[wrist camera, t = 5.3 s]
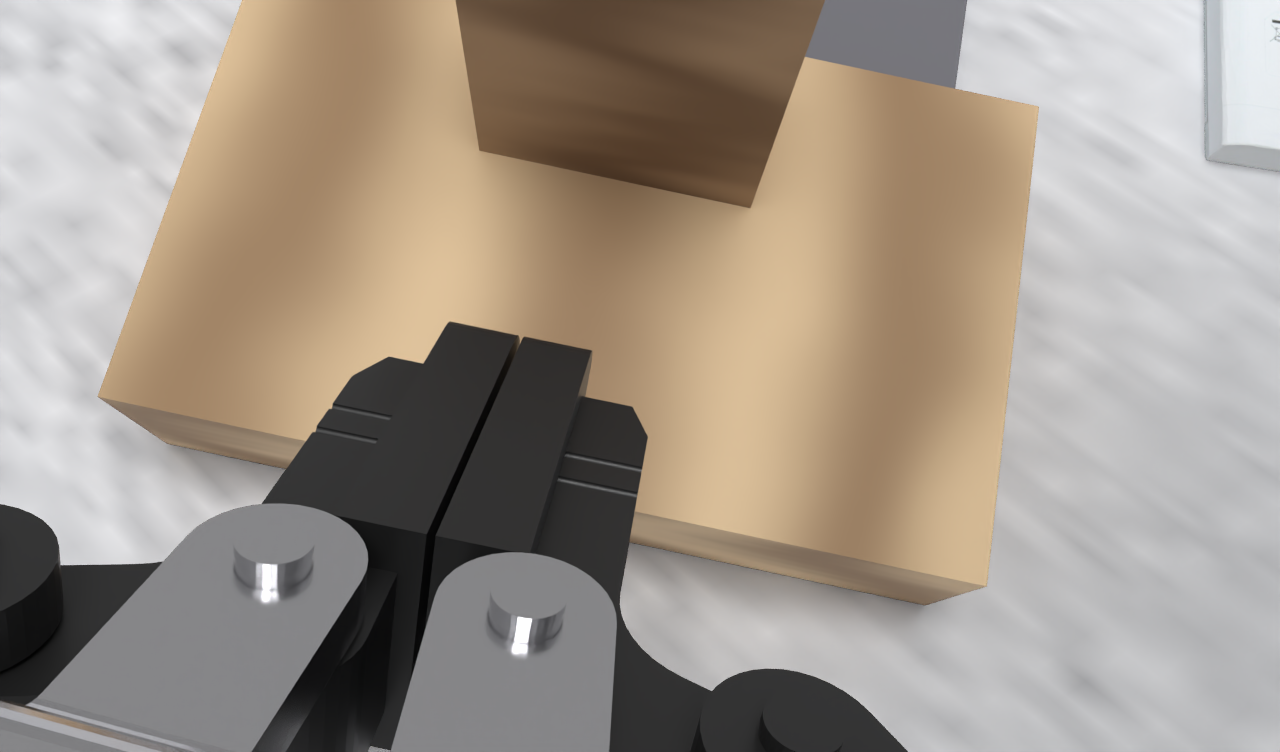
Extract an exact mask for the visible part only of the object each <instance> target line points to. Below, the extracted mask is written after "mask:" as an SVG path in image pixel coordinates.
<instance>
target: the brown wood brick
mask: <svg viewBox="0 0 1280 752" xmlns="http://www.w3.org/2000/svg"><path fill="white" fill-rule="evenodd" d="M824 2H825V0H456V7H457V13H458V19H459V26H460V32H461V38H462V45H463V51H464V57H465V63H466V70H467V76H468V82H469V89H470V95H471V101H472V108H473V114H474V120H475V126H476V133H477V139H478V145H479V151H483V152H488V153H493V154H497V155H502V156H507V157H511V158H516V159H521V160H525V161H530V162H535V163H540V164H544V165H549V166H554V167H558V168H563V169H568V170H572V171H577V172H582V173H586V174H591V175H596V176H601V177H605V178H610V179H615V180H619V181H624V182H629V183H633V184H638V185H643V186H648V187H652V188H657V189H662V190H666V191H671V192H676V193H680V194H685V195H690V196H694V197H699V198H704V199H709V200H713V201H718V202H723V203H727V204H732V205H737V206H741V207H746V208H751V205H752V203H753V200H754V197H755V194H756V191H757V189H758V186H759V183H760V180H761V178H762V175H763V172H764V169H765V166H766V164H767V161H768V158H769V155H770V152H771V150H772V147H773V144H774V141H775V138H776V136H777V133H778V130H779V127H780V125H781V122H782V119H783V116H784V113H785V111H786V108H787V105H788V102H789V99H790V97H791V94H792V91H793V88H794V86H795V83H796V80H797V77H798V74H799V72H800V69H801V66H802V63H803V60H804V58H805V55H806V52H807V49H808V47H809V44H810V41H811V38H812V35H813V33H814V30H815V27H816V24H817V21H818V19H819V16H820V13H821V10H822V8H823V5H824Z"/></svg>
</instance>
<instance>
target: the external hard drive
mask: <svg viewBox="0 0 1280 752" xmlns="http://www.w3.org/2000/svg"><path fill="white" fill-rule="evenodd" d="M1204 55H1205V58H1204V68H1205V158H1206V160H1208V161H1215V162H1222V163H1228V164H1235V165H1241V166H1247V167H1253V168H1260V169H1266V170H1272V171H1278V172H1280V0H1204Z"/></svg>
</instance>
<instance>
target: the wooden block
mask: <svg viewBox="0 0 1280 752" xmlns="http://www.w3.org/2000/svg"><path fill="white" fill-rule="evenodd" d="M1038 111H1039V107H1038V106H1034V105H1029V104H1024V103H1019V102H1015V101H1010V100H1005V99H1001V98H996V97H991V96H987V95H982V94H977V93H972V92H968V91H963V90H958V89H954V88H949V87H944V86H940V85H935V84H930V83H925V82H921V81H916V80H911V79H907V78H902V77H897V76H893V75H888V74H883V73H878V72H874V71H869V70H864V69H860V68H855V67H850V66H846V65H841V64H836V63H832V62H827V61H822V60H817V59H813V58H808V57H805V58H804V60H803V63H802V66H801V69H800V72H799V74H798V77H797V80H796V83H795V86H794V88H793V91H792V94H791V97H790V99H789V102H788V105H787V108H786V111H785V113H784V116H783V119H782V122H781V125H780V127H779V130H778V133H777V136H776V138H775V141H774V144H773V147H772V150H771V152H770V155H769V158H768V161H767V164H766V166H765V169H764V172H763V175H762V178H761V180H760V183H759V186H758V189H757V191H756V194H755V197H754V200H753V203H752V205H751V208H746V207H741V206H737V205H732V204H727V203H723V202H718V201H713V200H709V199H704V198H699V197H694V196H690V195H685V194H680V193H676V192H671V191H666V190H662V189H657V188H652V187H648V186H643V185H638V184H633V183H629V182H624V181H619V180H615V179H610V178H605V177H601V176H596V175H591V174H586V173H582V172H577V171H572V170H568V169H563V168H558V167H554V166H549V165H544V164H540V163H535V162H530V161H525V160H521V159H516V158H511V157H507V156H502V155H497V154H493V153H488V152H483V151H479V145H478V139H477V133H476V126H475V120H474V114H473V108H472V101H471V95H470V89H469V82H468V76H467V70H466V63H465V57H464V51H463V45H462V38H461V32H460V26H459V19H458V13H457V7H456V0H242V2H241V5H240V8H239V10H238V13H237V16H236V19H235V21H234V24H233V27H232V30H231V32H230V35H229V38H228V41H227V43H226V46H225V49H224V52H223V54H222V57H221V60H220V63H219V65H218V68H217V71H216V74H215V76H214V79H213V82H212V84H211V87H210V90H209V93H208V95H207V98H206V101H205V104H204V106H203V109H202V112H201V115H200V117H199V120H198V123H197V126H196V128H195V131H194V134H193V137H192V139H191V142H190V145H189V148H188V150H187V153H186V156H185V158H184V161H183V164H182V167H181V169H180V172H179V175H178V178H177V180H176V183H175V186H174V189H173V191H172V194H171V197H170V200H169V202H168V205H167V208H166V211H165V213H164V216H163V219H162V222H161V224H160V227H159V230H158V232H157V235H156V238H155V241H154V243H153V246H152V249H151V252H150V254H149V257H148V260H147V263H146V265H145V268H144V271H143V274H142V276H141V279H140V282H139V285H138V287H137V290H136V293H135V296H134V298H133V301H132V304H131V307H130V309H129V312H128V315H127V317H126V320H125V323H124V326H123V328H122V331H121V334H120V337H119V339H118V342H117V345H116V348H115V350H114V353H113V356H112V359H111V361H110V364H109V367H108V370H107V372H106V375H105V378H104V381H103V383H102V386H101V389H100V391H99V394H98V397H99V398H100V399H102V400H103V401H105V402H106V403H108V404H109V405H111V406H112V407H114V408H115V409H116V410H118V411H119V412H121V413H122V414H124V415H125V416H127V417H128V418H130V419H131V420H133V421H134V422H136V423H137V424H139V425H140V426H142V427H143V428H145V429H146V430H148V431H149V432H151V433H152V434H154V435H155V436H157V437H158V438H160V439H161V440H162V441H164V442H165V443H167V444H172V445H176V446H181V447H186V448H190V449H195V450H200V451H204V452H209V453H214V454H218V455H223V456H228V457H233V458H237V459H242V460H247V461H251V462H256V463H261V464H265V465H270V466H275V467H279V468H284V469H287V467H288V466H289V465H290V463H291V462H292V460H293V459H294V457H295V456H296V455H297V453H298V452H299V450H300V449H301V448H302V446H303V445H304V443H305V442H306V440H307V439H308V438H309V436H310V435H311V433H312V432H316V428H317V425H318V423H319V422H320V421H321V419H322V418H323V416H324V415H325V413H326V412H327V411H328V409H332V405H333V402H334V401H335V399H336V398H337V396H338V395H339V394H340V392H341V391H342V389H343V388H344V387H345V385H346V384H347V382H348V381H349V379H350V378H351V377H352V376H353V375H355V374H357V373H358V372H360V371H362V370H364V369H366V368H368V367H370V366H372V365H374V364H375V363H377V362H379V361H381V360H383V359H385V358H387V357H394V358H399V359H404V360H408V361H413V362H418V363H424V361H425V360H426V358H427V356H428V355H429V353H430V351H431V350H432V348H433V346H434V345H435V343H436V341H437V340H438V338H439V336H440V335H441V333H442V331H443V330H444V328H445V326H446V325H447V323H448V322H456V323H461V324H466V325H470V326H475V327H480V328H485V329H490V330H495V331H499V332H504V333H509V334H514V335H519V338H520V343H521V341H522V339H523V337H530V338H534V339H539V340H544V341H549V342H554V343H559V344H563V345H568V346H573V347H578V348H583V349H588V350H592V351H593V353H592V362H591V368H590V374H589V379H588V385H587V390H586V396H585V397H589V398H593V399H598V400H603V401H608V402H613V403H618V404H622V405H627V406H632V407H633V409H634V411H635V413H636V414H637V416H638V418H639V420H640V422H641V424H642V426H643V428H644V430H645V432H646V434H647V436H648V439H647V445H646V451H645V456H644V462H643V467H642V472H641V479H640V484H639V490H638V495H637V501H636V507H635V513H634V518H633V524H632V529H631V535H630V541H629V542H631V543H636V544H640V545H645V546H650V547H655V548H659V549H664V550H669V551H673V552H678V553H683V554H687V555H692V556H697V557H701V558H706V559H711V560H715V561H720V562H725V563H730V564H734V565H739V566H744V567H748V568H753V569H758V570H762V571H767V572H772V573H776V574H781V575H786V576H790V577H795V578H800V579H805V580H809V581H814V582H819V583H823V584H828V585H833V586H837V587H842V588H847V589H851V590H856V591H861V592H866V593H870V594H875V595H880V596H884V597H889V598H894V599H898V600H903V601H908V602H912V603H917V604H922V605H928V604H931V603H934V602H937V601H941V600H944V599H947V598H950V597H954V596H957V595H960V594H963V593H967V592H970V591H973V590H977V589H980V588H983V587H986V586H987V580H988V570H989V561H990V552H991V543H992V534H993V524H994V515H995V506H996V497H997V488H998V478H999V469H1000V460H1001V451H1002V442H1003V432H1004V423H1005V414H1006V405H1007V396H1008V387H1009V377H1010V368H1011V359H1012V350H1013V341H1014V331H1015V322H1016V313H1017V304H1018V295H1019V285H1020V276H1021V267H1022V258H1023V249H1024V239H1025V230H1026V221H1027V212H1028V203H1029V193H1030V184H1031V175H1032V166H1033V157H1034V148H1035V138H1036V129H1037V120H1038Z"/></svg>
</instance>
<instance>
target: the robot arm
mask: <svg viewBox="0 0 1280 752" xmlns="http://www.w3.org/2000/svg"><path fill="white" fill-rule="evenodd" d="M592 353H593V351H592V350H588V349H583V348H578V347H573V346H568V345H563V344H559V343H554V342H549V341H544V340H539V339H534V338H530V337H523V339H522V341H521V343H520V338H519V335H514V334H509V333H504V332H499V331H495V330H490V329H485V328H480V327H475V326H470V325H466V324H461V323H456V322H448V323H447V325H446V326H445V328H444V330H443V331H442V333H441V335H440V336H439V338H438V340H437V341H436V343H435V345H434V346H433V348H432V350H431V351H430V353H429V355H428V356H427V358H426V360H425V361H424V363H418V362H413V361H408V360H404V359H399V358H394V357H387V358H385V359H383V360H381V361H379V362H377V363H375V364H374V365H372V366H370V367H368V368H366V369H364V370H362V371H360V372H358V373H357V374H355V375H353V376H352V377H351V378H350V379H349V381H348V382H347V384H346V385H345V387H344V388H343V389H342V391H341V392H340V394H339V395H338V396H337V398H336V399H335V401H334V402H333V405H332V409H328V411H327V412H326V413H325V415H324V416H323V418H322V419H321V421H320V422H319V423H318V425H317V428H316V432H312V433H311V435H310V436H309V438H308V439H307V440H306V442H305V443H304V445H303V446H302V448H301V449H300V450H299V452H298V453H297V455H296V456H295V457H294V459H293V460H292V462H291V463H290V465H289V466H288V467H287V469H286V470H285V472H284V473H283V474H282V476H281V477H280V479H279V480H278V482H277V483H276V484H275V486H274V487H273V489H272V490H271V491H270V493H269V494H268V496H267V497H266V499H265V500H264V501H263V503H262V504H259V505H251V506H246V507H241V508H237V509H233V510H230V511H227V512H224V513H221V514H219V515H217V516H215V517H213V518H211V519H209V520H207V521H205V522H204V523H202V524H201V525H199V526H198V527H196V528H195V529H194V530H193V531H192V532H191V533H190V534H189V535H187V537H186V538H185V539H184V540H183V541H182V542H181V543H180V544H179V545H178V546H177V547H176V548H175V549H174V551H173V552H172V553H171V554H170V555H169V556H168V557H167V558H166V559H165V560H164V561H163V562H157V563H147V564H122V565H60V553H59V545H58V541H57V537H56V535H55V534H54V532H53V530H52V529H51V528H50V527H49V526H48V525H47V524H46V523H45V522H44V521H43V520H41V519H40V518H38V517H36V516H35V515H33V514H31V513H29V512H26V511H24V510H21V509H19V508H15V507H11V506H6V505H1V504H0V752H368V750H369V747H370V746H373V747H378V748H383V749H388V750H391V752H908V751H907V750H906V749H905V748H904V747H903V746H902V745H901V744H900V743H899V742H898V741H897V740H896V739H895V738H894V737H893V736H892V735H891V734H890V733H889V732H888V731H887V730H886V728H885V727H884V726H883V725H882V724H881V723H880V722H879V721H878V720H877V719H876V718H875V717H874V716H873V715H872V714H871V713H870V712H869V711H868V710H867V709H866V708H865V707H864V706H862V705H861V704H860V703H859V702H858V701H857V700H856V699H854V698H853V697H851V696H850V695H849V694H847V693H846V692H844V691H843V690H841V689H839V688H837V687H835V686H834V685H832V684H830V683H828V682H825V681H823V680H821V679H818V678H816V677H813V676H810V675H807V674H803V673H800V672H795V671H789V670H783V669H759V670H751V671H747V672H743V673H739V674H737V675H734V676H732V677H730V678H728V679H726V680H725V681H723V682H722V683H720V684H719V685H718V686H716V687H715V689H714V690H713V691H710V690H708V689H706V688H704V687H701V686H699V685H697V684H695V683H693V682H691V681H689V680H687V679H685V678H683V677H681V676H679V675H677V674H675V673H673V672H672V671H670V670H668V669H666V668H665V667H664V666H662V665H661V664H659V663H658V662H656V661H655V660H654V659H652V658H651V657H650V656H649V655H648V654H647V653H646V652H645V651H644V650H643V649H642V648H641V647H640V646H639V645H638V644H637V642H636V641H635V640H634V639H633V638H632V636H631V634H630V633H629V631H628V629H627V628H626V626H625V623H624V621H623V618H622V615H621V610H620V591H621V586H622V580H623V575H624V569H625V563H626V558H627V552H628V546H629V541H630V535H631V529H632V524H633V518H634V513H635V507H636V501H637V495H638V490H639V484H640V479H641V472H642V467H643V462H644V456H645V451H646V445H647V439H648V436H647V434H646V432H645V430H644V428H643V426H642V424H641V422H640V420H639V418H638V416H637V414H636V413H635V411H634V409H633V407H632V406H627V405H622V404H618V403H613V402H608V401H603V400H598V399H593V398H589V397H585V396H586V390H587V385H588V379H589V374H590V368H591V362H592Z"/></svg>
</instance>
